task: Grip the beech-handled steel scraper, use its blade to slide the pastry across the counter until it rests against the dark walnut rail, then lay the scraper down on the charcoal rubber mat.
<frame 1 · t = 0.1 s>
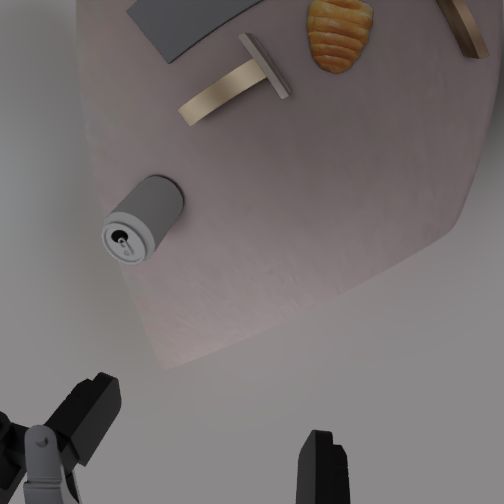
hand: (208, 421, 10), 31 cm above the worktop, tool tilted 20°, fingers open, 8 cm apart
pastry: (339, 28, 24), on the worktop
scraper: (230, 87, 31), on the worktop
can: (162, 195, 42), on the worktop
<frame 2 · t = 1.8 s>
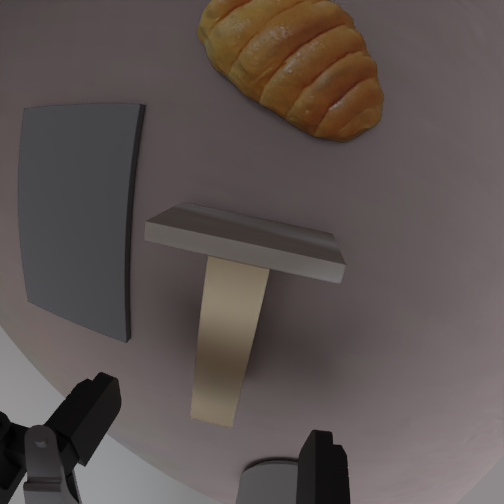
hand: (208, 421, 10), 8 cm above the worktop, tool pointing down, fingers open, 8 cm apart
pastry: (292, 52, 13), on the worktop
scraper: (237, 313, 17), on the worktop
mat: (68, 221, 17), on the worktop
can: (280, 472, 23), on the worktop
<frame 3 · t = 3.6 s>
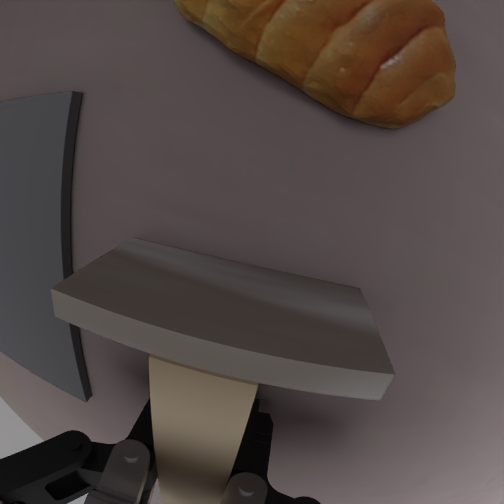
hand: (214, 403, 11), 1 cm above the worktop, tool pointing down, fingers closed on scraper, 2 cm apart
scraper: (219, 387, 12), on the worktop, touching gripper
mat: (6, 252, 11), on the worktop
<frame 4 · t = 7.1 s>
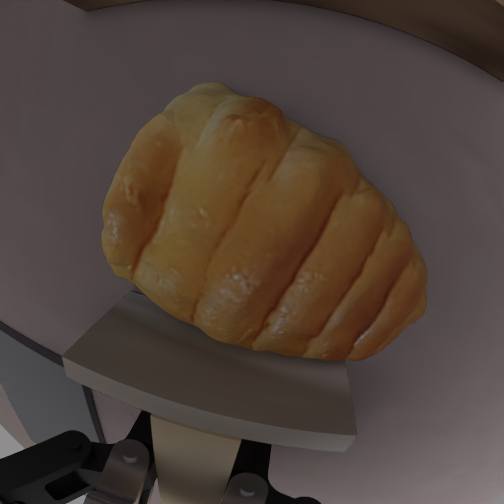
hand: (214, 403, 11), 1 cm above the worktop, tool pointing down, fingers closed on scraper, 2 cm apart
pastry: (267, 220, 10), on the worktop
scraper: (214, 417, 12), on the worktop, touching gripper
mat: (50, 413, 16), on the worktop
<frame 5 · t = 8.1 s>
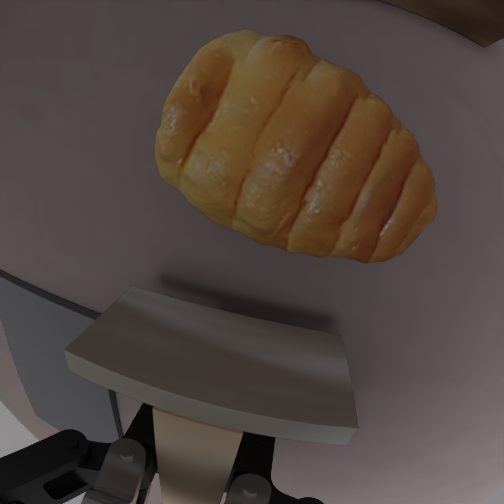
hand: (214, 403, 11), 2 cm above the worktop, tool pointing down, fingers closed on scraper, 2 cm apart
pastry: (293, 144, 11), on the worktop
scraper: (215, 413, 13), point 2 cm above the worktop, touching gripper
mat: (59, 379, 17), on the worktop
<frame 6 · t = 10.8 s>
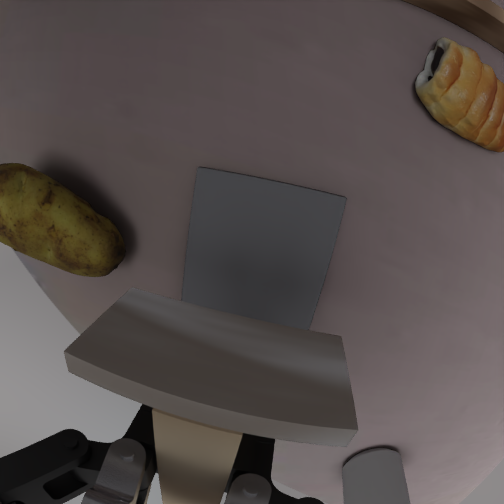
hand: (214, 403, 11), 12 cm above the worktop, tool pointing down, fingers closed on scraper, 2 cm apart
potato: (75, 212, 23), on the worktop
pastry: (459, 96, 16), on the worktop
scraper: (215, 414, 12), point 11 cm above the worktop, touching gripper
rail: (459, 19, 13), on the worktop
mat: (251, 281, 22), on the worktop
can: (370, 459, 28), on the worktop
when the fingers open (3 cm above the worktop, at t = 12.9 s): scraper drops 1 cm, resting on mat.
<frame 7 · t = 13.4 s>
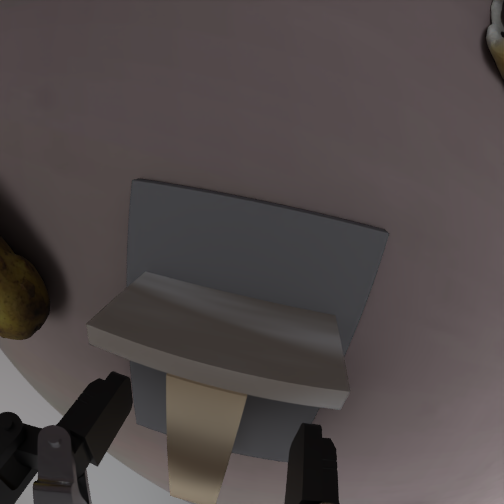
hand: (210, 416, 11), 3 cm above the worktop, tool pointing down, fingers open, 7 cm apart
potato: (1, 242, 14), on the worktop
scraper: (219, 393, 14), point 1 cm above the worktop, touching mat
mat: (228, 357, 14), on the worktop
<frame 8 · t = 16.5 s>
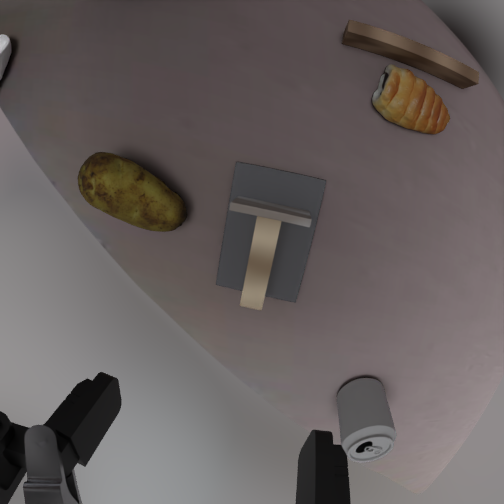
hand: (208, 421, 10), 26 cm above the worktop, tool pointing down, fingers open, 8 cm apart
potato: (145, 190, 35), on the worktop
pastry: (405, 101, 28), on the worktop
scraper: (263, 252, 35), point 1 cm above the worktop, touching mat
rail: (407, 58, 26), on the worktop
mat: (268, 234, 35), on the worktop
can: (359, 390, 41), on the worktop
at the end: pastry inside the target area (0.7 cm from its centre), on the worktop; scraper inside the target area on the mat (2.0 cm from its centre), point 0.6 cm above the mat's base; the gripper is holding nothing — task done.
